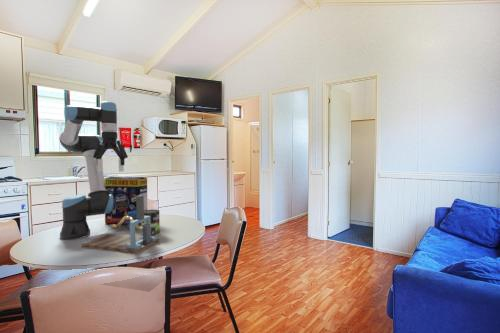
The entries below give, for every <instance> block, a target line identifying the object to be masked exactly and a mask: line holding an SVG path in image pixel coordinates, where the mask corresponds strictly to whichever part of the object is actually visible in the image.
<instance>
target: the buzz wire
mask: <svg viewBox="0 0 500 333" xmlns="http://www.w3.org/2000/svg"><path fill="white" fill-rule="evenodd" d="M126 219H128V220H130V221H134V220H133V218H132V217H130V216H124V217H123V218H122V220H121V221H120V222H119V223H118V224H109V227H110V228H112V229H119V228H120V227H121V225H123V224H122V223H123V222H124V221H125V220H126ZM135 227H136V228H135V229H136V230H138V231H141V235H142V234H143V245H148V244H150V243H151V241H150V224H145V225H142V224H141V226H140V225H139V226H138V224H135Z"/></svg>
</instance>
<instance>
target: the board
mask: <svg viewBox="0 0 500 333" xmlns="http://www.w3.org/2000/svg"><path fill="white" fill-rule="evenodd" d="M141 237H142V236H136V242H137V241H139V240H141ZM159 242H160V239H159V238H156V240H155V241H151V243H150V244H148V245H143V244H142V247H141V248H140V249H133V248H125V244H127V243H130V235H122V234H121V235H119V234H109V233H107V234H105V235H102V236H100V237H96V238H94V239H91V240H88V241H86V242H84V243H81V248H87V249H95V250H96V249H97V250H105V251H115V252H122V253H123V252H126V253H131V254H132V253H133V254H139V253H140V252H143V251H144V250H146V249H149V247H152V246H153V245H155V244H157V243H159Z"/></svg>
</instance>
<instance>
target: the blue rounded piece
mask: <svg viewBox="0 0 500 333" xmlns="http://www.w3.org/2000/svg"><path fill="white" fill-rule="evenodd" d="M127 216H130V217H132V218H133V220H137V211H136V210H134V211H133V212H132V211H130V212H129V215H127ZM130 222H131V221H130V220H128V219H127V221H126V224H125V225H127V226H128V228H129V229H130ZM138 226H139V227H140V226H141V225H140V223H138ZM135 229H137V228H136V227H135Z"/></svg>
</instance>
